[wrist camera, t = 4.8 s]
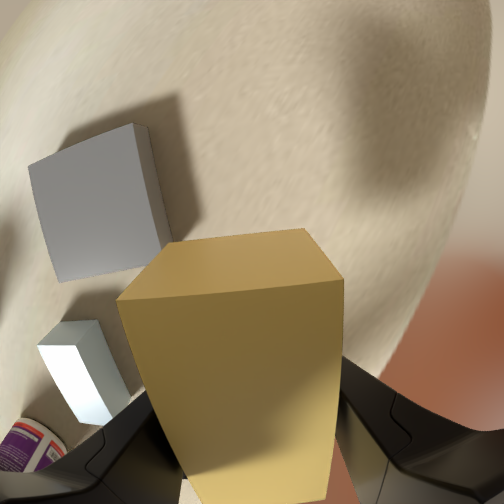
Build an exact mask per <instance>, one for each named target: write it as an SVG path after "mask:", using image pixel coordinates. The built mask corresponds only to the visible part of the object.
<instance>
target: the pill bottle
mask: <svg viewBox="0 0 504 504" xmlns="http://www.w3.org/2000/svg"><path fill="white" fill-rule="evenodd" d="M65 454H67V451H66V448H65V446H64V444H63V443H62V442H61V440H60V439H59V438H58V437H57V436H56V435H55V434H54V433H52V432H51V431H50V430H49V429H47V428H46V427H45V426H43V425H41V424H40V423H38V422H36V421H34V420H32V419H29V418H20V419H18V420H17V421H16V422H15V424H14V425H13V426H12V428H11V429H10V431H9V432H8V434H7V435H6V437H5V438H4V440H3V441H2V443H1V444H0V471H6V472H23V473H29V472H35V471H39V470H41V469H43V468H45V467H47V466H48V465H50V464H52V463H53V462H55V461H56V460H58V459H59V458H61V457H62V456H64V455H65Z"/></svg>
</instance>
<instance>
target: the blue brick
mask: <svg viewBox="0 0 504 504" xmlns="http://www.w3.org/2000/svg"><path fill="white" fill-rule="evenodd" d="M37 347H38V349H39V351H40V353H41V356H42V358H43V360H44V362H45V364H46V366H47V367H48V369H49V371H50V373H51V375H52V377H53V379H54V381H55V382H56V384H57V386H58V388H59V390H60V391H61V393H62V395H63V396H64V398H65V400H66V401H67V403H68V405H69V406H70V408H71V410H72V411H73V413H74V414H75V416H76V417H77V419H78V421H79V422H80V423H86V424H94V425H103V426H104V425H105V424H106V423H108V422H109V421H110V420H111V419H112V418H114V417H115V416H116V415H117V414H118V413H120V412H121V411H122V410H123V409H124V408H125V407H127V406H128V403H129V401H130V399H131V396H130V394H129V392H128V390H127V387H126V385H125V383H124V381H123V379H122V377H121V375H120V373H119V370H118V368H117V366H116V364H115V361H114V359H113V357H112V354H111V352H110V350H109V347H108V345H107V342H106V340H105V337H104V335H103V332H102V330H101V327H100V324H99V322H98V319H95V320H79V321H62V322H59V323H58V324H57V325H56V326H55V327H54V328H53V329H52V330H51V331H50V332H49V333H48V334H47V335H46V336H45V337H44V338H43V339H42V340H41V341H40V342H39V343H38V344H37Z"/></svg>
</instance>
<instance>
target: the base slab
mask: <svg viewBox="0 0 504 504" xmlns="http://www.w3.org/2000/svg"><path fill="white" fill-rule="evenodd" d="M28 170H29V175H30V180H31V185H32V190H33V195H34V200H35V204H36V208H37V212H38V216H39V220H40V224H41V228H42V232H43V235H44V239H45V242H46V245H47V249H48V252H49V255H50V258H51V261H52V264H53V267H54V270H55V273H56V276H57V279H58V282H59V283H62V282H67V281H72V280H77V279H82V278H87V277H92V276H97V275H102V274H107V273H112V272H117V271H122V270H127V269H132V268H138V267H143V266H147V265H148V264H149V263H150V262H151V261H152V260H153V259H154V258H155V257H156V256H157V255H158V254H159V252H160V251H161V250H162V249H163V248H164V247H165V246H166V245H167V244H168V243H172V242H173V238H172V234H171V230H170V226H169V222H168V218H167V214H166V210H165V206H164V202H163V198H162V193H161V189H160V184H159V180H158V175H157V171H156V166H155V161H154V157H153V152H152V147H151V142H150V137H149V131H148V127H145V126H142V125H139V124H135V123H130V124H127V125H124V126H121V127H119V128H116V129H113V130H110V131H108V132H105V133H102V134H100V135H97V136H94V137H92V138H89V139H87V140H84V141H82V142H80V143H77V144H75V145H72V146H70V147H68V148H65V149H63V150H61V151H59V152H57V153H54V154H52V155H50V156H48V157H46V158H44V159H42V160H40V161H37V162H35V163H33V164H31V165H29V166H28Z"/></svg>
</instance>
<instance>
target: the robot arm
mask: <svg viewBox="0 0 504 504" xmlns="http://www.w3.org/2000/svg"><path fill="white" fill-rule="evenodd" d="M335 437H336V440H337V443H338V445H339V448H340V450H341V453H342V456H343V459H344V461H345V464H346V467H347V469H348V472H349V475H350V477H351V480H352V483H353V486H354V488H355V491H356V493H357V496H358V499H359V502H360V504H504V429H499V430H493V431H477V430H473V429H470V428H467V427H465V426H462V425H460V424H458V423H455V422H453V421H451V420H449V419H446V418H444V417H442V416H440V415H438V414H435V413H433V412H431V411H429V410H427V409H425V408H423V407H421V406H419V405H417V404H416V403H414V402H413V401H411V400H409V399H408V398H406V397H404V396H403V395H401V394H400V393H397V392H396V391H395V390H394V389H392V388H390V387H389V386H387V385H386V384H384V383H383V382H381V381H380V380H378V379H377V378H375V377H374V376H372V375H371V374H369V373H368V372H366V371H365V370H363V369H362V368H360V367H359V366H357V365H356V364H354V363H353V362H351V361H350V360H348V359H347V358H345V357H344V356H342V362H341V377H340V390H339V401H338V412H337V421H336V430H335ZM182 479H188V478H187V476H186V475H185V473H184V471H183V469H182V467H181V465H180V463H179V461H178V459H177V457H176V455H175V453H174V451H173V449H172V447H171V445H170V443H169V441H168V439H167V437H166V435H165V433H164V431H163V429H162V426H161V424H160V422H159V420H158V418H157V415H156V413H155V411H154V408H153V406H152V404H151V401H150V399H149V396H148V394H147V392H146V390H145V391H144V392H143V393H142V394H141V395H140V396H138V397H137V398H136V399H135V400H134V401H133V402H131V403H130V404H129V405H128V406H127V407H125V408H124V409H123V410H122V411H121V412H120V413H118V414H117V415H116V416H115V417H114V418H112V419H111V420H110V421H109V422H108V423H106V424H105V425H104V426H103V428H100V429H99V430H98V431H97V432H96V433H94V434H93V435H92V436H91V437H89V438H88V439H87V440H85V441H84V442H83V443H82V444H80V445H79V446H77V447H76V448H74V449H73V450H71V451H70V452H68V453H67V454H65V455H64V456H62V457H61V458H59V459H58V460H56V461H55V462H53V463H52V464H50V465H48V466H47V467H45V468H43V469H41V470H39V471H35V472H29V473H23V472H6V471H0V504H178V503H179V496H180V490H181V483H182Z"/></svg>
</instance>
